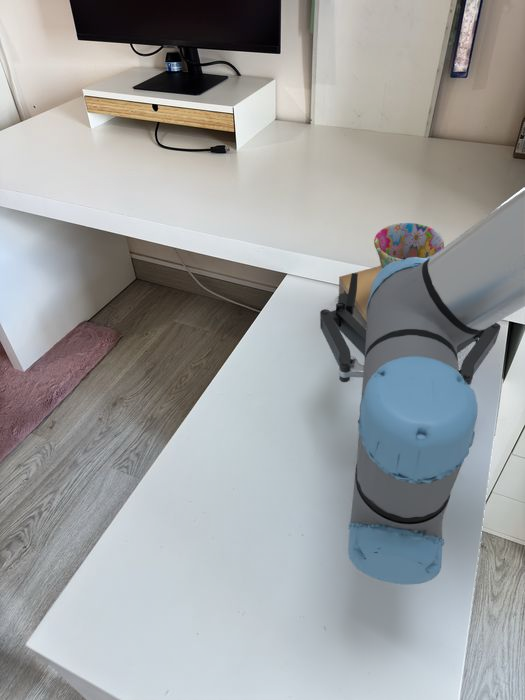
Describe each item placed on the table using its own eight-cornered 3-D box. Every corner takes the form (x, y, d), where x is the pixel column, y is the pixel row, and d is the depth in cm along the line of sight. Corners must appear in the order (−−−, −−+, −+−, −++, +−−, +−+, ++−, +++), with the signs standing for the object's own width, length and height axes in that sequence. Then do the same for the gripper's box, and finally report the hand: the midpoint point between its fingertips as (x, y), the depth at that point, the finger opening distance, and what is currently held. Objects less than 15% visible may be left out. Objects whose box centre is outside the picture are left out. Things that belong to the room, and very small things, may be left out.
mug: (428, 325, 72) (440, 265, 65) (363, 315, 75) (368, 256, 68) (437, 275, 80) (449, 216, 72) (379, 267, 83) (384, 209, 75)
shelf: (467, 334, 76) (472, 315, 73) (381, 360, 74) (384, 340, 71) (414, 274, 87) (417, 255, 84) (338, 295, 85) (339, 276, 82)
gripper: (281, 423, 56) (312, 300, 70) (525, 456, 50) (505, 314, 64) (276, 379, 51) (310, 255, 65) (549, 410, 45) (521, 267, 59)
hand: (408, 284), depth 65 cm, fingers open, 13 cm apart
